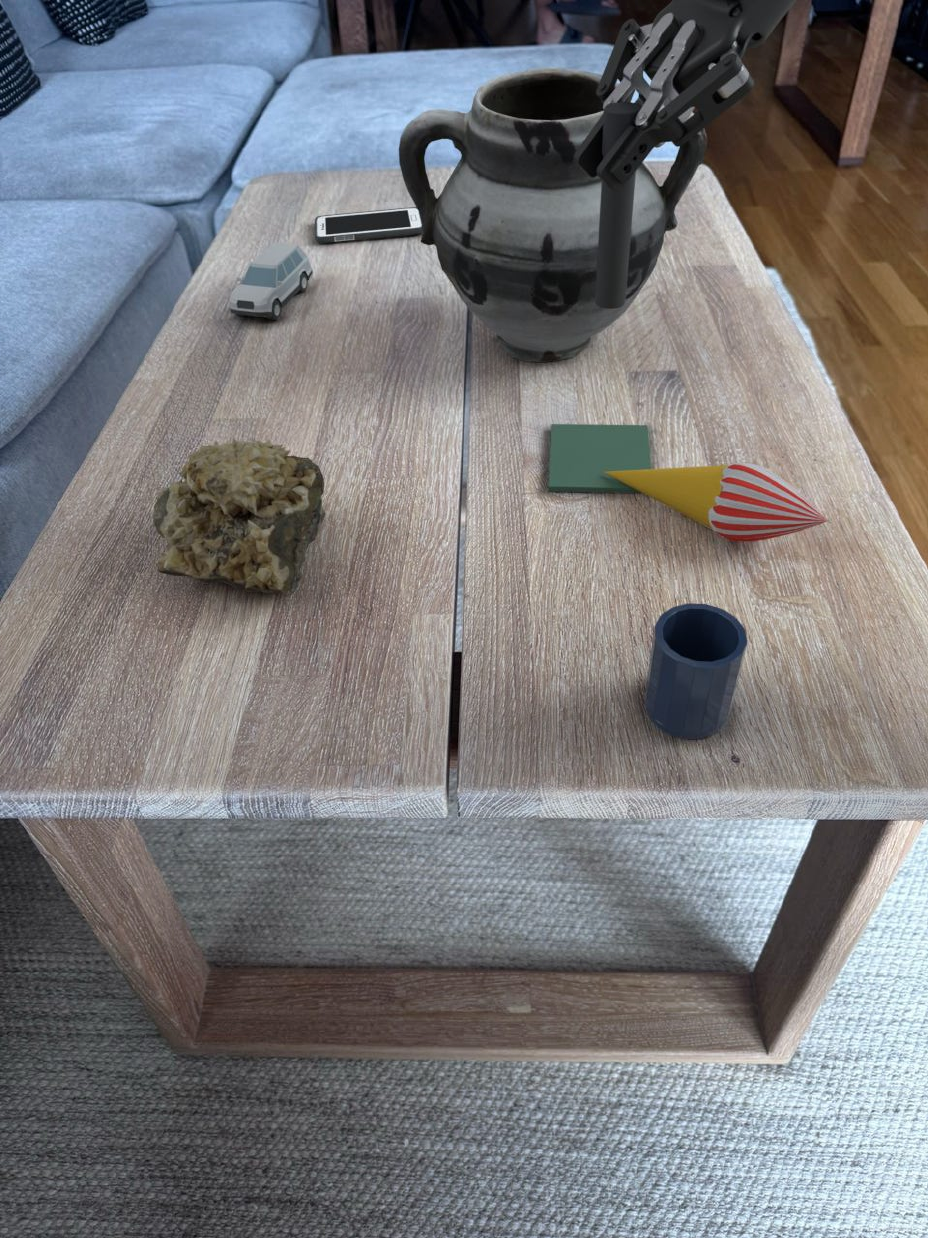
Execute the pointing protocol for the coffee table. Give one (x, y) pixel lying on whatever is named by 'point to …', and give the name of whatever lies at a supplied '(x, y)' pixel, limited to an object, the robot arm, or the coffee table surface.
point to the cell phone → (368, 225)
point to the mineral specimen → (241, 516)
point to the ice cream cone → (729, 499)
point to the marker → (615, 216)
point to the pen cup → (694, 670)
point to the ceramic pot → (534, 209)
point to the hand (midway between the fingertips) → (594, 174)
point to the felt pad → (596, 456)
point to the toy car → (271, 281)
